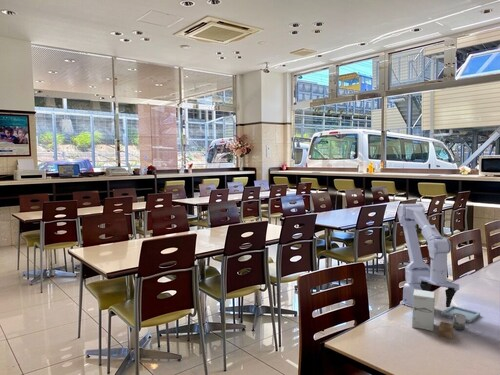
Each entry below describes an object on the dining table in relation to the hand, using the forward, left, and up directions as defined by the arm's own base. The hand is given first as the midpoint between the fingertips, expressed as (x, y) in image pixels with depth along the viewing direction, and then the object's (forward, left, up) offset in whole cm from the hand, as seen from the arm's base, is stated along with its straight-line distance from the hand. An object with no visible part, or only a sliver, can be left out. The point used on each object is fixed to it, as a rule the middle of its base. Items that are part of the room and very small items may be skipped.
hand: (437, 303), depth 147 cm
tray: (+5, +11, -6) cm, 13 cm away
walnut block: (+8, -11, -6) cm, 15 cm away
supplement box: (-1, -9, -7) cm, 11 cm away
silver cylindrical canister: (+9, -2, -6) cm, 11 cm away
